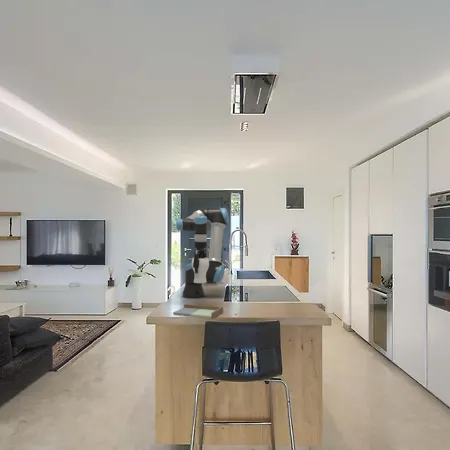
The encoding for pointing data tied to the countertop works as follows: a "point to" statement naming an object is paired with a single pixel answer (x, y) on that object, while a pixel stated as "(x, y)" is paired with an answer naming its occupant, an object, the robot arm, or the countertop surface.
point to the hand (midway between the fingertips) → (200, 277)
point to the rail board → (199, 311)
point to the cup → (201, 270)
